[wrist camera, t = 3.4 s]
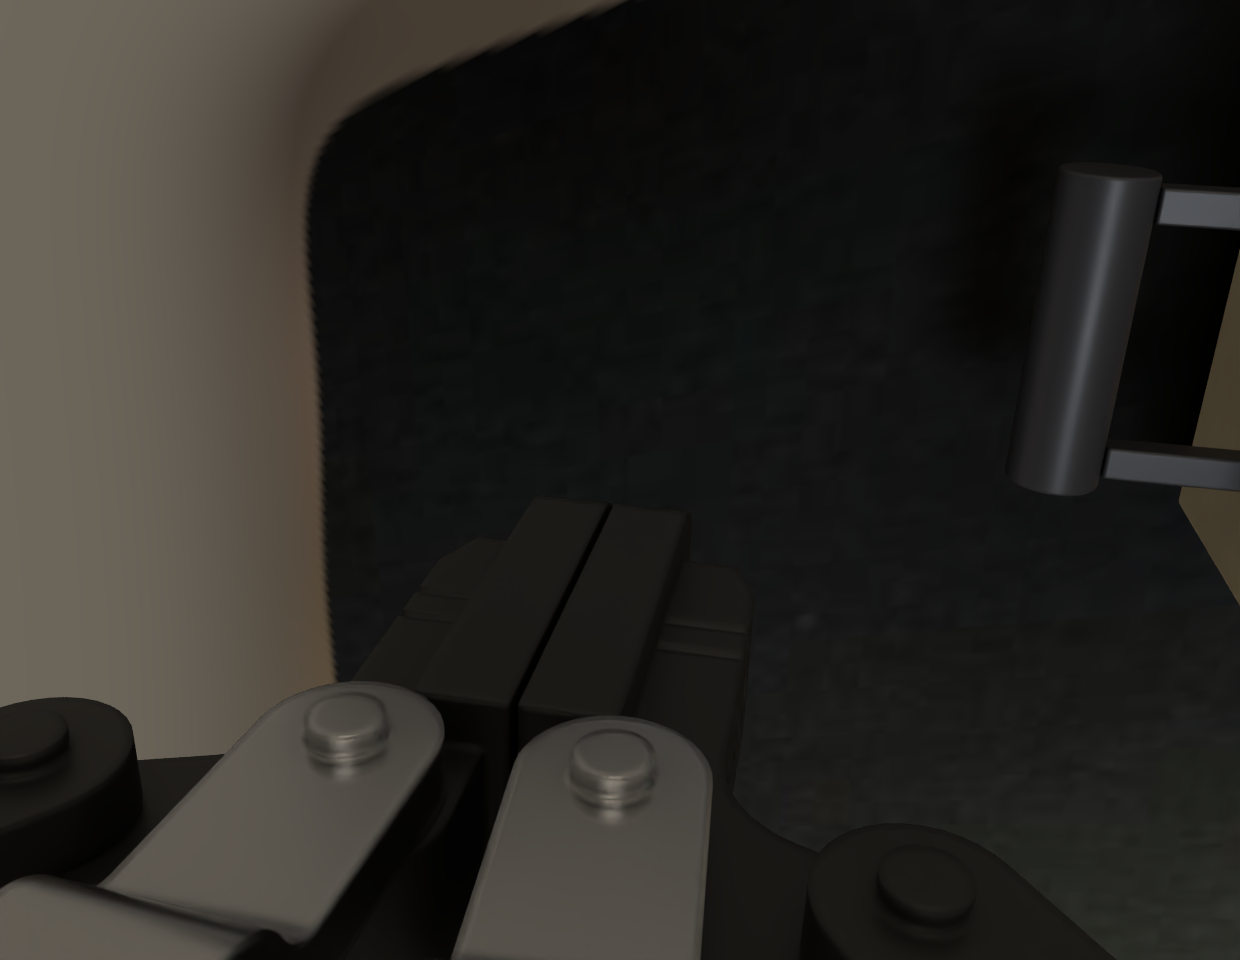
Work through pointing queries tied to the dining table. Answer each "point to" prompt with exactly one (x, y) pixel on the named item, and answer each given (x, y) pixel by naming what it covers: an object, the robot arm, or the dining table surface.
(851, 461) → the dining table surface
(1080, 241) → the fryer drawer
